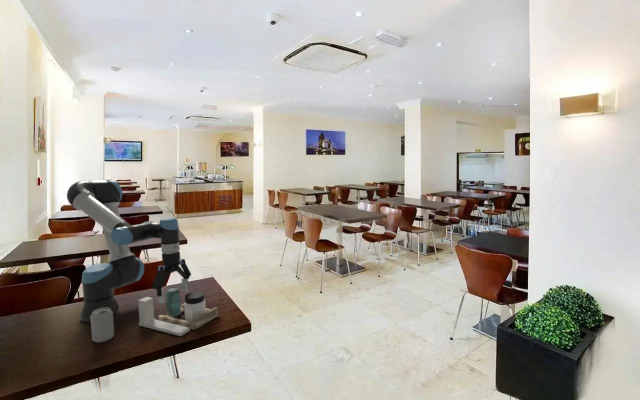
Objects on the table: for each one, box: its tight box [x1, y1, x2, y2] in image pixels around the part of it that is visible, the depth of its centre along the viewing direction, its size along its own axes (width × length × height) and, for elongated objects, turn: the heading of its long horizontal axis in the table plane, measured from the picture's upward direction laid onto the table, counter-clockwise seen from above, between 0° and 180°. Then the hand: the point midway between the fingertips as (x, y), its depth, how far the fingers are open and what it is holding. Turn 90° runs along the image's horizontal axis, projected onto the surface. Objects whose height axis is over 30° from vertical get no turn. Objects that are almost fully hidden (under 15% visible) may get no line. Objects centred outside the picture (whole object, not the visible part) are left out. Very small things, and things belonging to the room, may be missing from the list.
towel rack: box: [158, 287, 219, 331], centre depth 149 cm, size 22×14×12 cm
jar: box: [183, 291, 207, 322], centre depth 147 cm, size 9×8×12 cm
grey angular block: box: [138, 296, 191, 337], centre depth 140 cm, size 24×5×11 cm, turn 67°
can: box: [90, 307, 115, 343], centre depth 132 cm, size 8×8×12 cm
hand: (173, 297), depth 152 cm, fingers open, 13 cm apart
